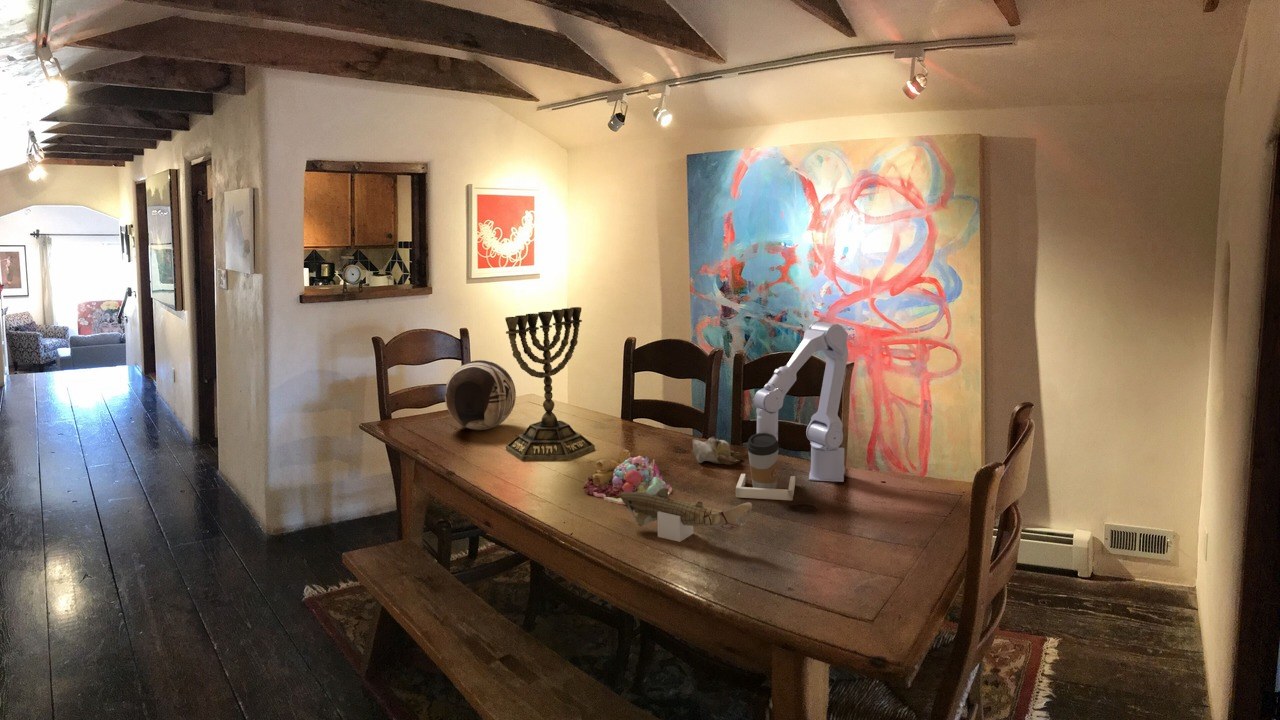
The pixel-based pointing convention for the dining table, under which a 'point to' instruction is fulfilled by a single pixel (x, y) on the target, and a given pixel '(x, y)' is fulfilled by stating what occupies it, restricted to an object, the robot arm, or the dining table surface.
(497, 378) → the sphere
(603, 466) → the candy landscape model
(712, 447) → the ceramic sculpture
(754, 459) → the coffee cup
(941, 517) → the dining table surface
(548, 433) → the menorah
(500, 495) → the dining table surface
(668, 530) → the wood carving
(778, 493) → the dock
